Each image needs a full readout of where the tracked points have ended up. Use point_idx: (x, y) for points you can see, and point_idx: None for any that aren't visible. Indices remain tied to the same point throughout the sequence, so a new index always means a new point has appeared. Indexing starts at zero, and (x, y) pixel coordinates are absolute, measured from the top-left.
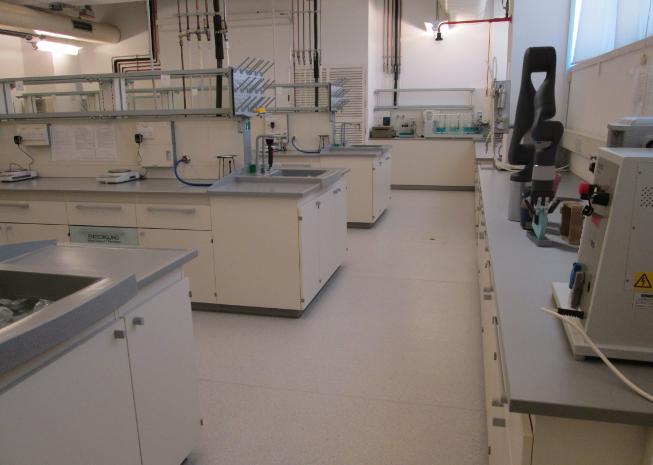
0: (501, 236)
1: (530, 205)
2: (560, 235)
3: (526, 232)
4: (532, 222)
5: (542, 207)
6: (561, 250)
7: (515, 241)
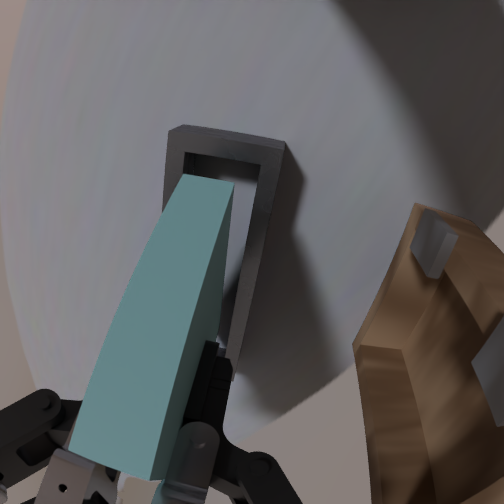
0: (37, 120)
1: (23, 478)
2: (415, 223)
3: (172, 130)
4: (168, 203)
5: (160, 488)
6: (249, 401)
7: (84, 243)
